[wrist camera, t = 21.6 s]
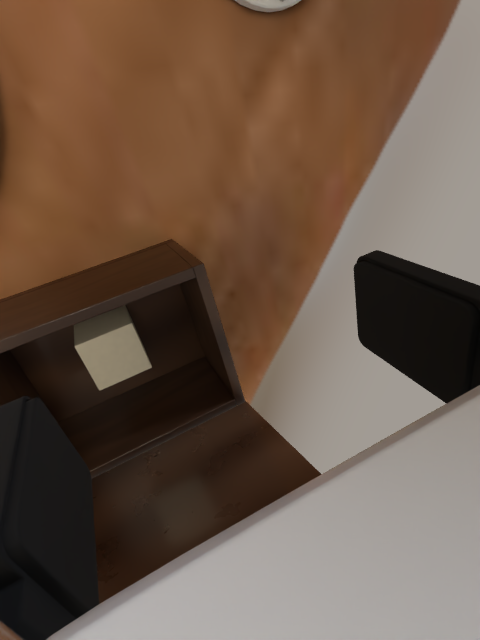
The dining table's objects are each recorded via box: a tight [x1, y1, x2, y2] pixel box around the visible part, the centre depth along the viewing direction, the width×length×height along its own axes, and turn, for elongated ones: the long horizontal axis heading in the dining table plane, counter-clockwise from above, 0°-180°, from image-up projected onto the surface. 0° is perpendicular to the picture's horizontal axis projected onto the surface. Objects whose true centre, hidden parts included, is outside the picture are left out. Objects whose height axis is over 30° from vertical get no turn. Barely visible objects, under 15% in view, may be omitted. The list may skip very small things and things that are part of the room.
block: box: [74, 305, 152, 390], centre depth 31 cm, size 4×4×4 cm
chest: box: [0, 239, 245, 479], centre depth 30 cm, size 13×17×9 cm
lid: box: [92, 402, 322, 604], centre depth 23 cm, size 14×17×5 cm
